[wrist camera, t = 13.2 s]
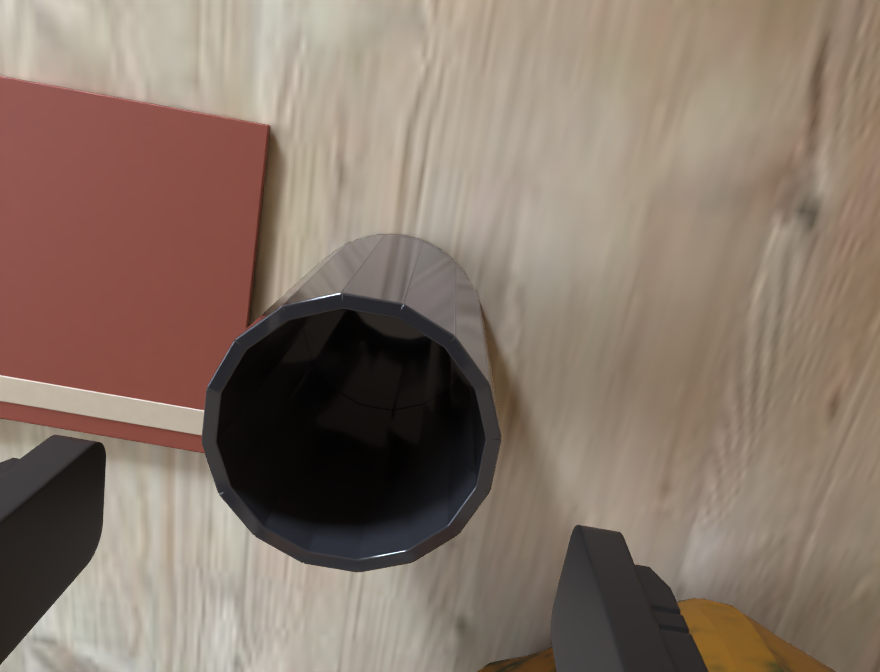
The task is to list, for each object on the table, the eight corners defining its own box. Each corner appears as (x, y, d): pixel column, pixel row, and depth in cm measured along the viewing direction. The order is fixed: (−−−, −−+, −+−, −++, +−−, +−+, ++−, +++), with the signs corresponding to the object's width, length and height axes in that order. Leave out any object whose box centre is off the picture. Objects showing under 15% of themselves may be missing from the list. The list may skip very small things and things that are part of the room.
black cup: (498, 251, 25) (526, 325, 15) (464, 425, 26) (468, 591, 17) (311, 218, 24) (217, 270, 15) (288, 394, 26) (190, 545, 16)
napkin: (270, 125, 24) (268, 125, 23) (234, 454, 27) (232, 458, 26) (-219, 35, 23) (-229, 34, 23) (-196, 381, 26) (-204, 384, 26)
